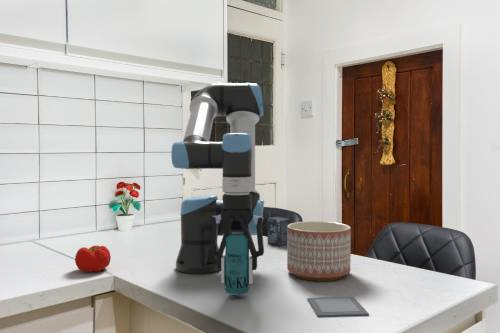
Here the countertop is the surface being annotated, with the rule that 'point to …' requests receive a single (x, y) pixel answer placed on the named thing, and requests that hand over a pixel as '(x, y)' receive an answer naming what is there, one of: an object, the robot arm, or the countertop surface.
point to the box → (277, 231)
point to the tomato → (92, 258)
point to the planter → (318, 250)
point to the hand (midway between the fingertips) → (237, 281)
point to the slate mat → (337, 306)
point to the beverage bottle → (236, 262)
